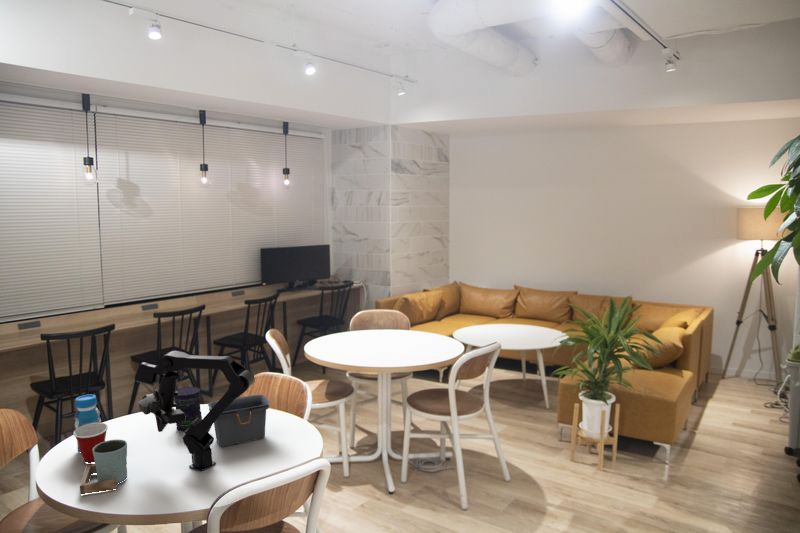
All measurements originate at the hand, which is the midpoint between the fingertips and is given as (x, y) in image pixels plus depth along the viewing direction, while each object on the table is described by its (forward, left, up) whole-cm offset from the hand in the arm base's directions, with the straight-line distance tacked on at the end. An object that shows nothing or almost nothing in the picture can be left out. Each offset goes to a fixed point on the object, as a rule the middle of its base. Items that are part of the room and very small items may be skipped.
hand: (159, 431), depth 202 cm
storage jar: (+19, -27, -12) cm, 36 cm away
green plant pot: (+5, +15, -12) cm, 20 cm away
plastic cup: (+24, +10, -12) cm, 29 cm away
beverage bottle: (+34, +5, -12) cm, 37 cm away
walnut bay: (+7, +18, -12) cm, 23 cm away
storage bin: (-9, -28, -12) cm, 32 cm away
